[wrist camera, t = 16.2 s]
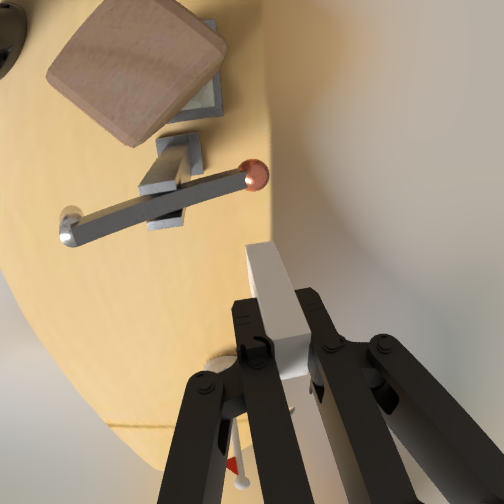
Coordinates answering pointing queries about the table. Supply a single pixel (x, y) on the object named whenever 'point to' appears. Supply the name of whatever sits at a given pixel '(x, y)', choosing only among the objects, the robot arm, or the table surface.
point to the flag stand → (235, 462)
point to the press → (182, 150)
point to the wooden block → (137, 65)
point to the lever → (158, 203)
